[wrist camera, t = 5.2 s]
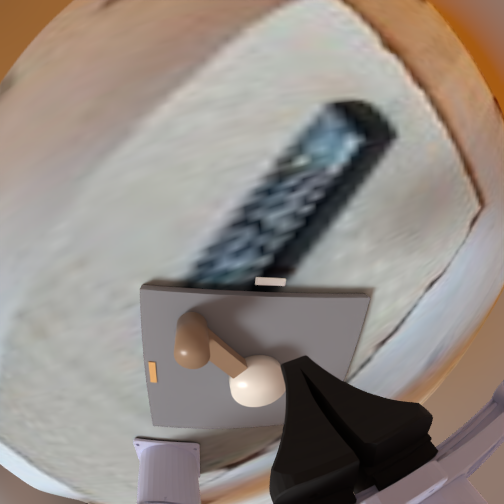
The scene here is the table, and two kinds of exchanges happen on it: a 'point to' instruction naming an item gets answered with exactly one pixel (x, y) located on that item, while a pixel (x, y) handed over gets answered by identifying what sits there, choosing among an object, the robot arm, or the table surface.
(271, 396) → the brown white rounded rod
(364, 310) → the stud board
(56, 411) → the table surface
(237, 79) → the table surface
